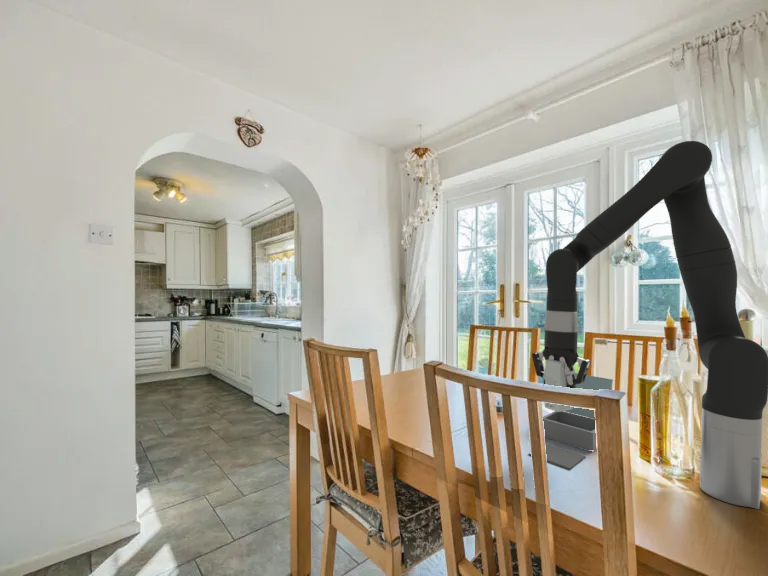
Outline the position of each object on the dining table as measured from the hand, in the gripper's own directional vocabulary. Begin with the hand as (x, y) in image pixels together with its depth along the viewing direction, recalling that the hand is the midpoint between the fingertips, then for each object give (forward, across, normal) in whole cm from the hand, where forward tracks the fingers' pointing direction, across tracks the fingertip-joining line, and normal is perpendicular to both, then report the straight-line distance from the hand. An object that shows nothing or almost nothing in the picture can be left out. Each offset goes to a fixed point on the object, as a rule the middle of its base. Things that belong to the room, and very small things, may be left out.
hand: (558, 396), depth 94 cm
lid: (+4, +2, -23) cm, 23 cm away
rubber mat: (+15, 0, 0) cm, 15 cm away
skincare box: (+3, 0, 0) cm, 3 cm away
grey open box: (+15, +2, -16) cm, 22 cm away
